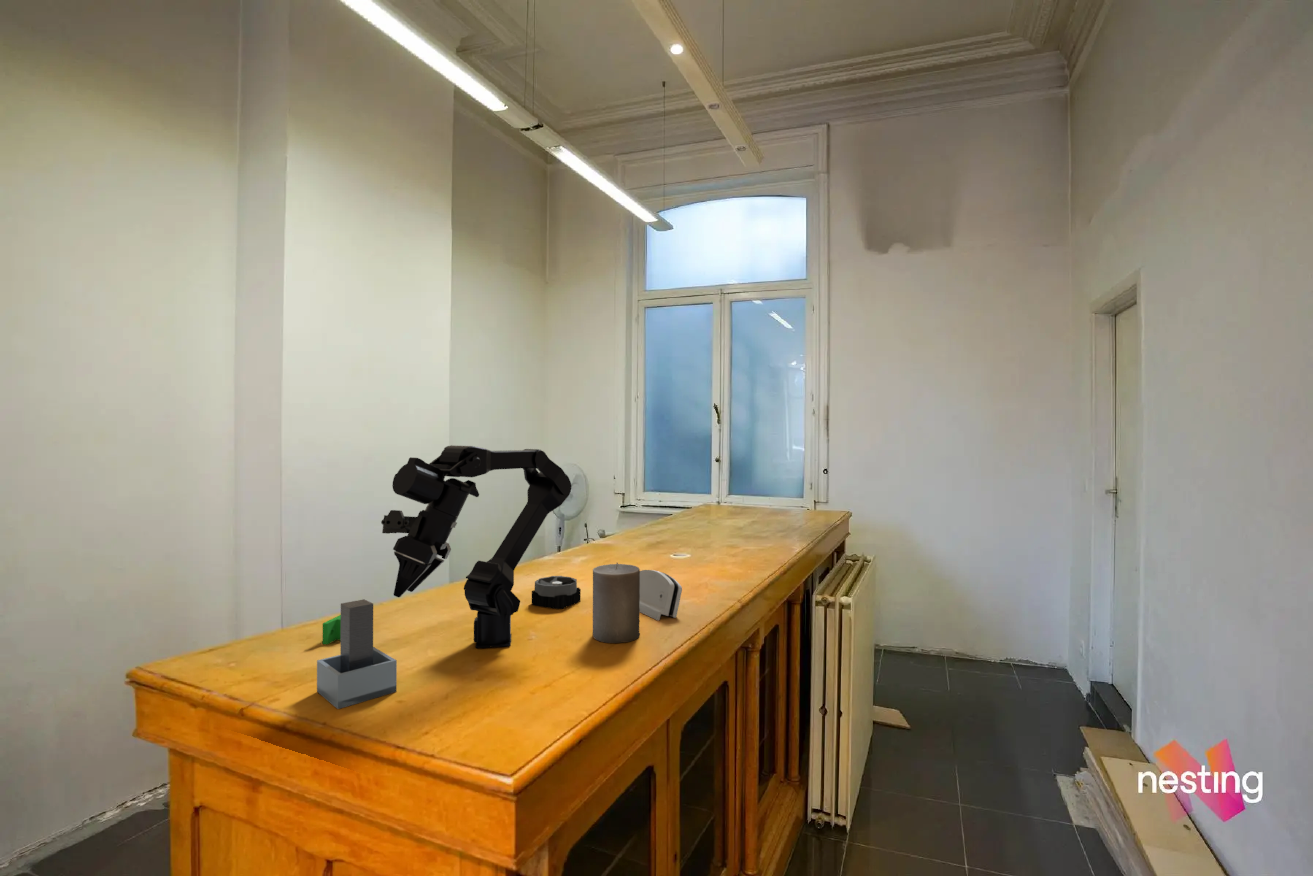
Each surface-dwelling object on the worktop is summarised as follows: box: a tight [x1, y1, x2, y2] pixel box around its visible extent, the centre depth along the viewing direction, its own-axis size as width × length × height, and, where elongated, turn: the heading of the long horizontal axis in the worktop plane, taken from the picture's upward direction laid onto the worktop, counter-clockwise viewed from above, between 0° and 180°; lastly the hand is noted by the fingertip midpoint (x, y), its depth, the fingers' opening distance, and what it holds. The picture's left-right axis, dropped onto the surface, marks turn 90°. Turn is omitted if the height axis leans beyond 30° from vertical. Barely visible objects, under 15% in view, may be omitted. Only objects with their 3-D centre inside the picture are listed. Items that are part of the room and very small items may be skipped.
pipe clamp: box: [322, 614, 341, 645], centre depth 126 cm, size 10×4×4 cm, turn 174°
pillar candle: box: [592, 562, 641, 644], centre depth 128 cm, size 10×10×15 cm
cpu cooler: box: [531, 575, 582, 610], centre depth 152 cm, size 10×6×10 cm
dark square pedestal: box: [340, 598, 374, 673], centre depth 99 cm, size 5×5×13 cm
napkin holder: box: [639, 569, 683, 621], centre depth 147 cm, size 17×5×10 cm, turn 33°
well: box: [316, 646, 398, 710], centre depth 100 cm, size 9×9×5 cm
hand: (403, 593), depth 110 cm, fingers open, 9 cm apart
